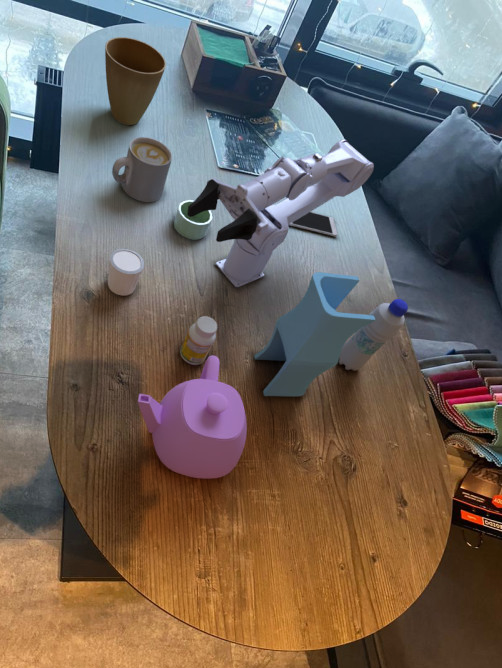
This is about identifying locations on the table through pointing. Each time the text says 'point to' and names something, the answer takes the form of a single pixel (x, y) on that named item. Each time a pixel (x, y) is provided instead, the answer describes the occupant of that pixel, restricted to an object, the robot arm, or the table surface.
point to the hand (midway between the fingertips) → (203, 224)
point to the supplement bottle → (199, 340)
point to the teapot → (198, 425)
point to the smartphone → (316, 223)
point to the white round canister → (124, 271)
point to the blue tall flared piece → (312, 334)
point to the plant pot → (131, 77)
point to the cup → (192, 222)
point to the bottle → (373, 334)
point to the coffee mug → (144, 169)
